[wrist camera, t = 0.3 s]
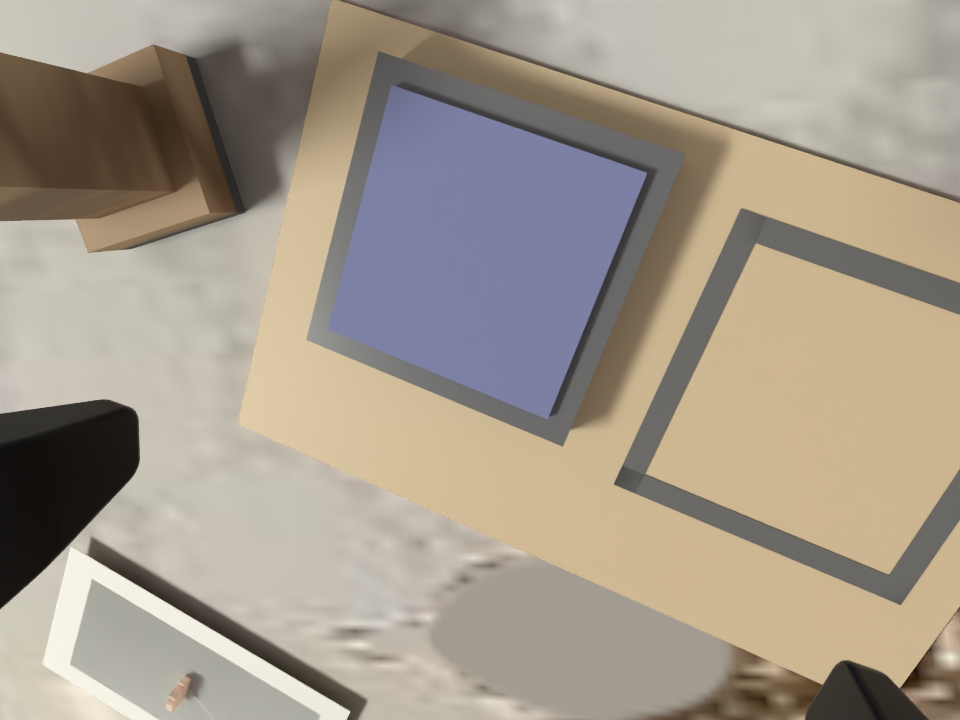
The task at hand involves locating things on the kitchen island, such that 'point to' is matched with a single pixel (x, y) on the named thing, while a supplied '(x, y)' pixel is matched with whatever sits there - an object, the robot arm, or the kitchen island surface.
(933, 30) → the kitchen island surface
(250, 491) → the kitchen island surface
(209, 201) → the walnut stamp
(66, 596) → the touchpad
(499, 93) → the ink pad
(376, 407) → the board
